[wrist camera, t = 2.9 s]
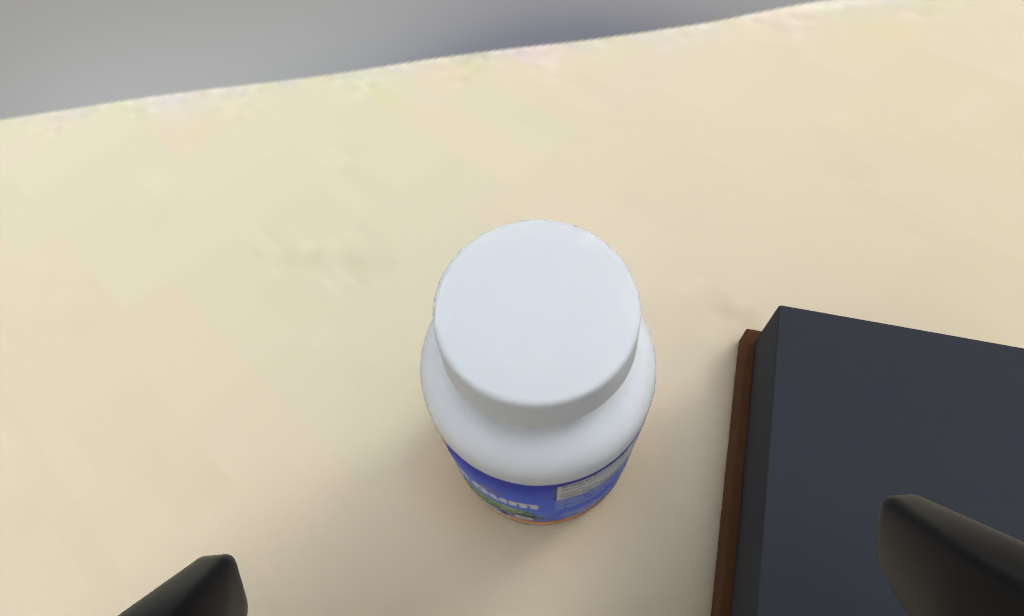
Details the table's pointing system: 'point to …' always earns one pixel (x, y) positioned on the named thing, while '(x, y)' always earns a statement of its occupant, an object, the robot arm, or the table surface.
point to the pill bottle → (538, 368)
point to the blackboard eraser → (857, 456)
